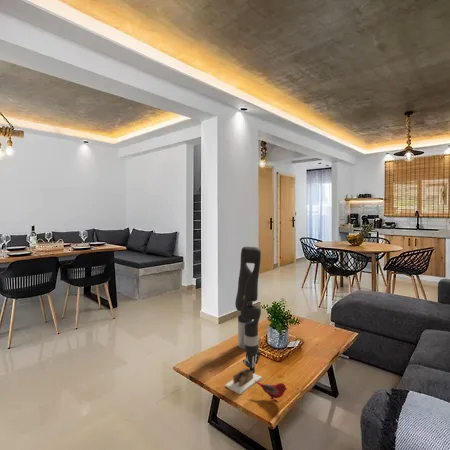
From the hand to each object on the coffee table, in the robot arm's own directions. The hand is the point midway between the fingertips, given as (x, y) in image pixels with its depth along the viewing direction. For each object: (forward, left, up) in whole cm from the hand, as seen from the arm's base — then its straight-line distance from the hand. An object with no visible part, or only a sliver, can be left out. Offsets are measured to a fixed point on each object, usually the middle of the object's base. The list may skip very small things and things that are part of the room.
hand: (252, 372), depth 166 cm
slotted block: (+7, 0, -1) cm, 7 cm away
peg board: (+7, 0, -2) cm, 7 cm away
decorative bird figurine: (+9, +18, -2) cm, 20 cm away
